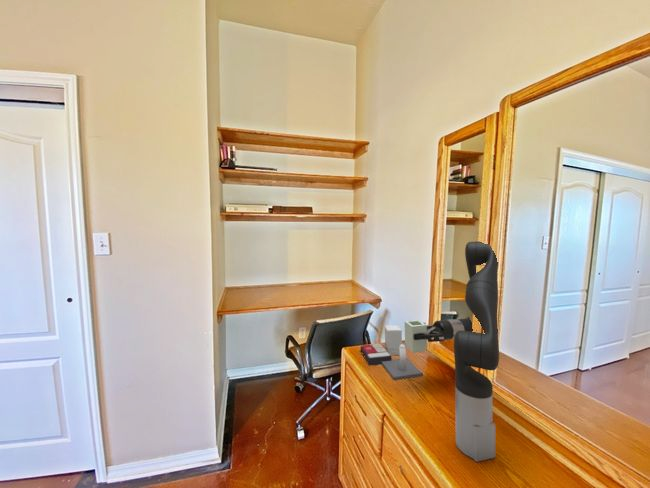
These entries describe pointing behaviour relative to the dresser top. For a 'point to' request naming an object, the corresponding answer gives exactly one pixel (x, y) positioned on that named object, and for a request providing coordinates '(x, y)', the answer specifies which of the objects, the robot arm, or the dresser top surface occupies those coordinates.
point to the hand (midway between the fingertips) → (409, 333)
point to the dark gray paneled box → (375, 354)
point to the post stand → (401, 366)
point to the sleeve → (410, 330)
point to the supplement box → (393, 339)
